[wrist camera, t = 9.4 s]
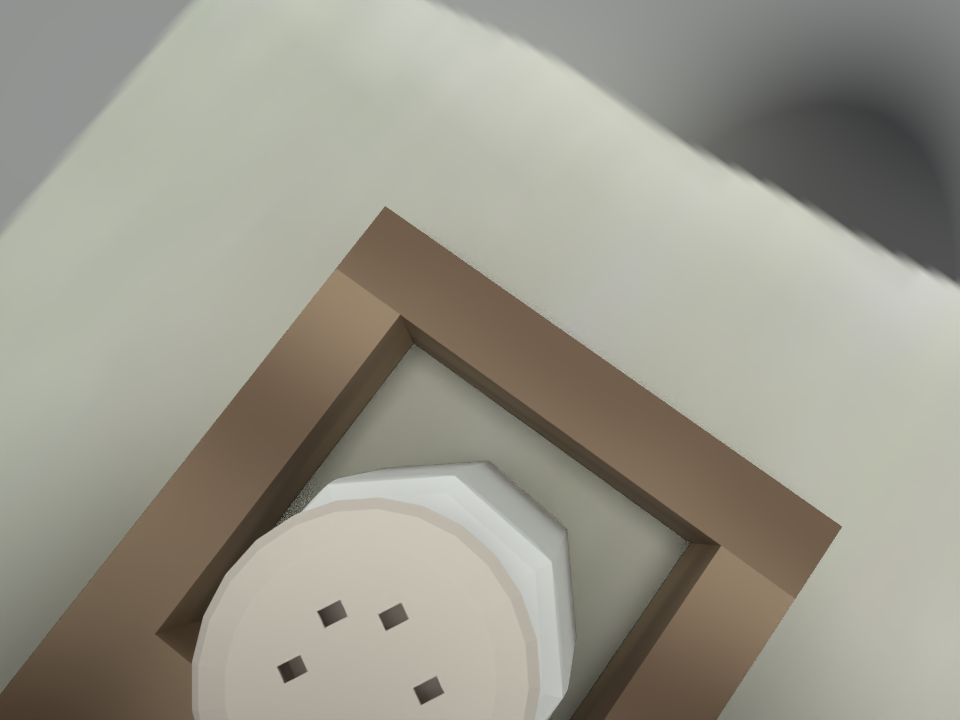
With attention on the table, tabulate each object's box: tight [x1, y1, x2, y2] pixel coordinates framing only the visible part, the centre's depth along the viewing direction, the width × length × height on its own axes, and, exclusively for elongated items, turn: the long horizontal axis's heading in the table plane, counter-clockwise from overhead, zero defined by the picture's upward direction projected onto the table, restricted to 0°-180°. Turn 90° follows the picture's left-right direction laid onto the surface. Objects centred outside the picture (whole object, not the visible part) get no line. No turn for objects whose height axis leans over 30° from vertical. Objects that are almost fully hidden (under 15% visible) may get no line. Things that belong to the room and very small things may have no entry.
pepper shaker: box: [192, 461, 576, 720], centre depth 12 cm, size 5×5×11 cm
